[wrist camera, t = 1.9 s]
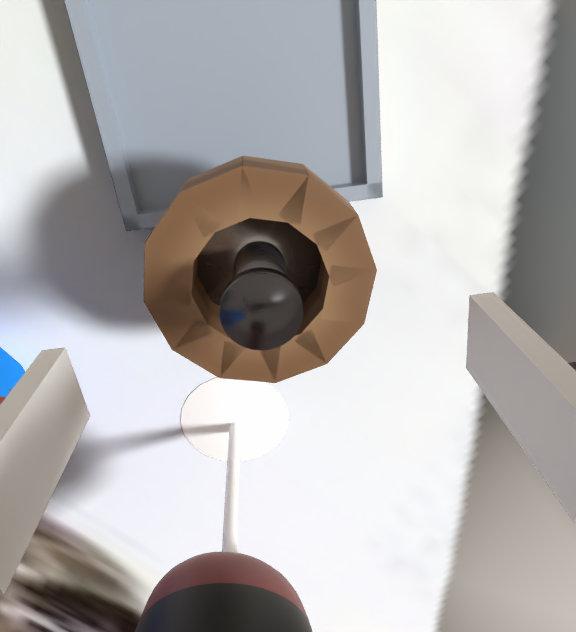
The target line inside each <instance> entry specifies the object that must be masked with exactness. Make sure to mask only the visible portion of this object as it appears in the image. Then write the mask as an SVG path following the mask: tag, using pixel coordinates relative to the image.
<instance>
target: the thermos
mask: <svg viewBox="0 0 576 632" xmlns="http://www.w3.org/2000/svg"><path fill="white" fill-rule="evenodd" d="M24 373H25V371H24V369H23V368H22V366H21V365H20V364H19V363H18V362H17V361H16V360H15V359H13V358H12V357H11V356H10V355H9V354H8V353H6V352H5V351H4V350H3V349H2V348H1V347H0V405H1V403H2V402H3V401H4V399H5V398H6V397H7V396H8V394H9V393H10V392H11V390H12V389H13V388H14V386H15V385H16V384H17V382H18V381H19V380H20V379H21V377H22V376H23V375H24Z"/></svg>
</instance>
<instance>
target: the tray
mask: <svg viewBox="0 0 576 632" xmlns="http://www.w3.org/2000/svg"><path fill="white" fill-rule="evenodd" d="M64 1H65V4H66V8H67V12H68V16H69V19H70V23H71V27H72V30H73V34H74V38H75V42H76V45H77V49H78V53H79V57H80V60H81V64H82V68H83V71H84V75H85V79H86V83H87V86H88V90H89V94H90V97H91V101H92V105H93V109H94V112H95V116H96V120H97V123H98V127H99V131H100V135H101V138H102V142H103V146H104V150H105V153H106V157H107V161H108V164H109V168H110V172H111V176H112V179H113V183H114V187H115V190H116V194H117V198H118V202H119V205H120V209H121V213H122V217H123V220H124V224H125V228H126V231H131V230H139V229H146V228H154V227H155V226H156V224H157V223H158V221H159V220H160V218H161V217H162V215H163V214H164V213H165V211H166V210H167V208H168V207H169V205H170V204H171V202H172V201H173V200H174V198H175V197H176V195H177V194H178V192H179V191H180V189H181V188H182V187H183V185H184V184H185V182H186V181H187V179H189V178H191V177H194V176H196V175H198V174H201V173H203V172H206V171H208V170H210V169H213V168H215V167H217V166H220V165H222V164H224V163H227V162H229V161H231V160H234V159H236V158H238V157H241V156H250V157H257V158H264V159H271V160H278V161H286V162H293V163H300V164H304V165H305V166H306V167H307V168H308V169H310V170H311V171H312V172H313V173H315V174H316V175H317V176H318V177H320V178H321V179H322V180H323V181H324V182H326V183H327V184H328V185H329V186H331V187H332V188H333V189H334V190H335V191H337V192H338V193H339V194H340V195H342V196H343V197H344V198H345V199H347V200H348V202H349V201H357V200H365V199H372V198H380V197H383V195H382V164H381V133H380V102H379V71H378V40H377V9H376V0H64Z"/></svg>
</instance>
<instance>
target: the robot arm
mask: <svg viewBox="0 0 576 632" xmlns="http://www.w3.org/2000/svg"><path fill="white" fill-rule="evenodd" d="M466 368H467V370H468V371H469V373H470V374H471V375H472V377H473V378H474V380H475V381H476V383H477V384H478V385H479V387H480V388H481V390H482V391H483V393H484V394H485V395H486V397H487V398H488V400H489V401H490V403H491V404H492V406H493V407H494V408H495V410H496V411H497V413H498V414H499V416H500V417H501V418H502V420H503V421H504V423H505V424H506V426H507V427H508V428H509V430H510V431H511V433H512V434H513V436H514V437H515V438H516V440H517V441H518V443H519V444H520V445H521V447H522V449H523V450H524V451H525V453H526V454H527V456H528V457H529V458H530V460H531V462H532V463H533V464H534V466H535V467H536V469H537V470H538V472H539V473H540V474H541V476H542V477H543V479H544V480H545V481H546V483H547V484H548V486H549V487H550V489H551V490H552V492H553V493H554V495H555V496H556V497H557V499H558V500H559V502H560V503H561V504H562V506H563V507H564V509H565V510H566V512H567V513H568V515H569V516H570V517H571V519H572V520H573V522H576V362H572V363H567V362H566V361H565V360H564V359H563V358H562V357H561V356H560V355H559V354H558V353H557V352H555V351H554V350H553V349H552V348H551V347H550V346H549V345H548V344H547V343H546V342H545V341H544V340H543V339H542V338H541V337H540V336H539V335H538V334H537V333H535V332H534V331H533V330H532V329H531V328H530V327H529V326H528V325H527V324H526V323H525V322H524V321H523V320H522V319H521V318H519V316H517V315H516V313H514V312H513V311H512V310H511V309H510V308H509V307H508V306H507V305H506V304H505V303H504V302H503V301H502V300H501V299H500V298H499V297H498V296H497V295H496V294H494V293H493V292H492V293H484V294H477V295H470V298H469V319H468V340H467V361H466ZM89 417H90V414H89V411H88V409H87V406H86V403H85V400H84V398H83V395H82V392H81V389H80V386H79V384H78V381H77V378H76V375H75V373H74V370H73V367H72V364H71V361H70V359H69V356H68V353H67V350H66V348H58V349H50V350H42V351H41V352H40V354H39V355H38V356H37V358H36V359H35V360H34V362H33V363H32V364H31V365H30V367H29V368H28V369H27V371H26V372H25V373H24V375H23V376H22V377H21V379H20V380H19V381H18V382H17V384H16V385H15V386H14V388H13V389H12V390H11V392H10V393H9V394H8V396H7V397H6V398H5V399H4V401H3V402H2V403H1V405H0V595H4V594H5V592H6V590H7V588H8V585H9V583H10V581H11V579H12V577H13V575H14V573H15V571H16V569H17V567H18V565H19V563H20V561H21V559H22V556H23V554H24V552H25V550H26V548H27V546H28V544H29V542H30V540H31V538H32V536H33V534H34V532H35V529H36V527H37V525H38V523H39V521H40V519H41V517H42V515H43V513H44V511H45V509H46V507H47V505H48V502H49V500H50V498H51V496H52V494H53V492H54V490H55V488H56V486H57V484H58V482H59V480H60V478H61V476H62V473H63V471H64V469H65V467H66V465H67V463H68V461H69V459H70V457H71V455H72V453H73V451H74V449H75V446H76V444H77V442H78V440H79V438H80V436H81V434H82V432H83V430H84V428H85V426H86V424H87V422H88V420H89Z"/></svg>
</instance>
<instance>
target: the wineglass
mask: <svg viewBox="0 0 576 632" xmlns="http://www.w3.org/2000/svg"><path fill="white" fill-rule="evenodd" d="M288 421H289V417H288V411H287V406H286V404H285V402H284V401H283V399H282V397H281V396H280V394H279V393H278V392H277V391H276V390H275V389H273V388H272V387H271V386H270V385H268V384H267V383H265V382H258V381H246V380H234V379H223V378H219V377H217V378H214V379H212V380H210V381H207V382H205V383H203V384H201V385H200V386H198V387H197V388H196V389H195V390H194V391H193V392H192V393H191V394H190V395H189V396H188V398H187V400H186V401H185V403H184V405H183V407H182V412H181V426H182V429H183V432H184V435H185V437H186V438H187V439H188V441H189V442H190V443H191V445H192V446H193V447H194V448H196V449H197V450H199V451H200V452H201V453H203V454H204V455H206V456H209V457H212V458H214V459H217V460H220V461H227V475H226V492H225V509H224V526H223V543H222V552H211V553H205V554H201V555H198V556H194V557H192V558H190V559H188V560H186V561H184V562H182V563H180V564H178V565H177V566H175V567H174V568H172V569H171V570H170V571H169V572H168V573H167V574H166V575H165V576H164V577H163V578H162V579H161V580H160V581H159V583H158V584H157V586H156V587H155V588H154V590H153V592H152V594H151V595H150V597H149V599H148V602H147V604H146V606H145V609H144V611H143V613H142V615H141V618H140V621H139V623H138V626H137V628H136V630H135V632H312V629H311V626H310V623H309V620H308V617H307V615H306V612H305V610H304V607H303V605H302V603H301V600H300V598H299V597H298V595H297V593H296V591H295V590H294V588H293V587H292V586H291V584H290V583H289V582H288V581H287V579H286V578H285V577H284V576H283V575H282V574H281V573H280V572H278V571H277V570H275V569H274V568H272V567H271V566H269V565H268V564H266V563H264V562H263V561H261V560H259V559H256V558H254V557H251V556H248V555H244V554H240V553H237V528H238V492H239V462H240V461H246V460H253V459H255V458H257V457H260V456H262V455H264V454H267V453H268V452H269V451H270V450H272V449H273V448H274V447H275V446H277V445H278V444H279V442H280V441H281V439H282V438H283V436H284V435H285V433H286V430H287V425H288Z"/></svg>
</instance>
